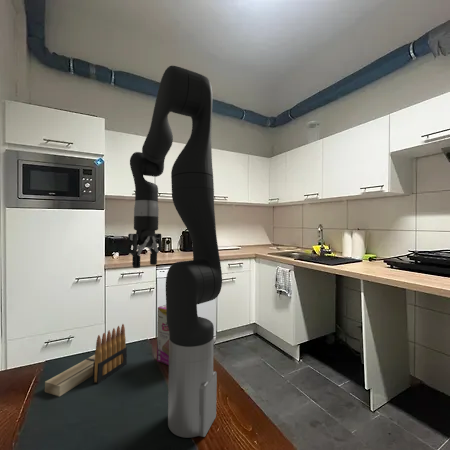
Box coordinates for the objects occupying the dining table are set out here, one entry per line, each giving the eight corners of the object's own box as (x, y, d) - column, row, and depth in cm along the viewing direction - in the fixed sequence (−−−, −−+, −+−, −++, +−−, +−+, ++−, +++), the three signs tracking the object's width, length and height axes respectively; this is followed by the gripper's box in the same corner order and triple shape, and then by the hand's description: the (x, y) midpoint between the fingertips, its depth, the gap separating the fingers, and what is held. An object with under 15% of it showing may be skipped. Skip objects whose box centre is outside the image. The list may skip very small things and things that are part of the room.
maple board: (110, 363, 76) (111, 355, 76) (59, 396, 61) (59, 385, 61) (97, 360, 77) (97, 352, 77) (44, 391, 62) (45, 381, 62)
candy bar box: (155, 361, 77) (156, 307, 78) (167, 355, 81) (168, 303, 82) (183, 373, 71) (184, 313, 72) (195, 365, 75) (195, 309, 76)
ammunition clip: (97, 384, 66) (98, 337, 66) (92, 382, 66) (93, 335, 67) (126, 364, 76) (127, 323, 76) (121, 363, 76) (122, 322, 77)
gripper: (141, 213, 74) (140, 269, 74) (168, 216, 88) (167, 264, 87) (121, 214, 77) (119, 268, 77) (150, 216, 90) (149, 263, 90)
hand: (145, 266), depth 82 cm, fingers open, 8 cm apart
